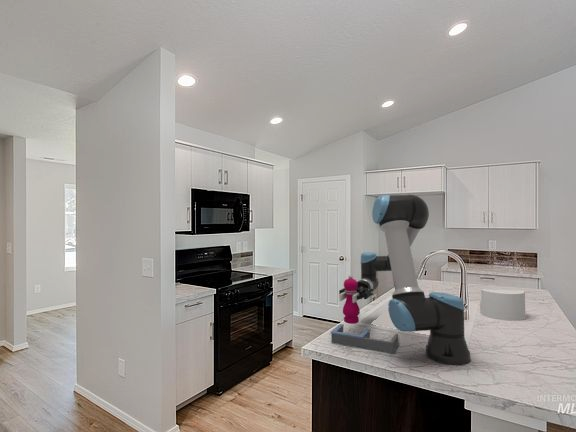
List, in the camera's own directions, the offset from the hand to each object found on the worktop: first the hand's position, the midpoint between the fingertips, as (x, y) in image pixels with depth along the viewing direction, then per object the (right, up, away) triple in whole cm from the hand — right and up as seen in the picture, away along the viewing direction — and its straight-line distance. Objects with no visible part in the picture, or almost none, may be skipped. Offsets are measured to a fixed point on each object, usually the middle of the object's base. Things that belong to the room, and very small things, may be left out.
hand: (346, 298), depth 139 cm
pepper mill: (+3, -11, +5) cm, 12 cm away
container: (+88, -18, +37) cm, 97 cm away
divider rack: (+8, -19, +1) cm, 21 cm away
